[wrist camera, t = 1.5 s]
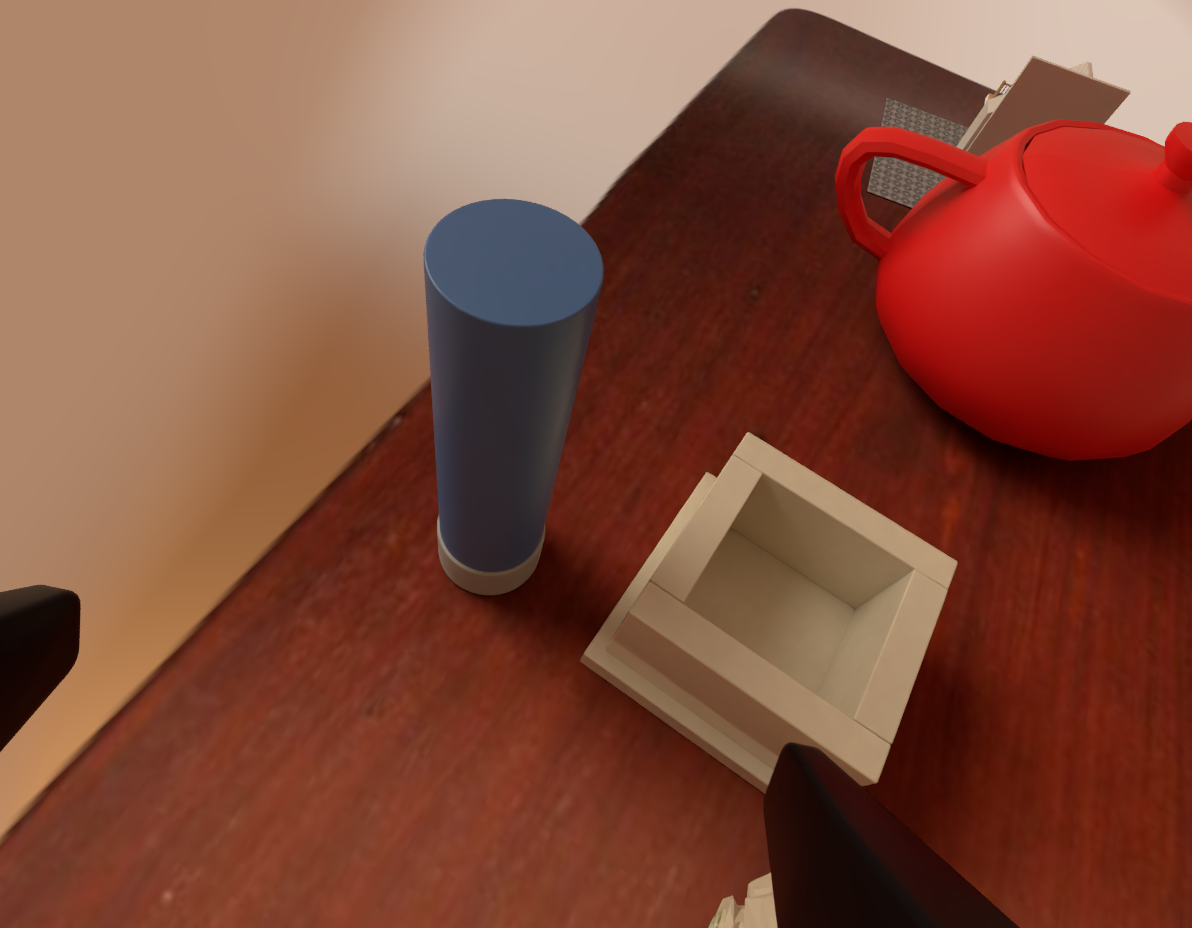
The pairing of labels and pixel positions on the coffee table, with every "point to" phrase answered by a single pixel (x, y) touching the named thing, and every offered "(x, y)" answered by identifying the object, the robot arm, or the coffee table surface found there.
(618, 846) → the coffee table surface
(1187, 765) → the coffee table surface
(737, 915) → the model
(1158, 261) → the teapot
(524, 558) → the cylinder
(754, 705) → the holder
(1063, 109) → the napkin holder
